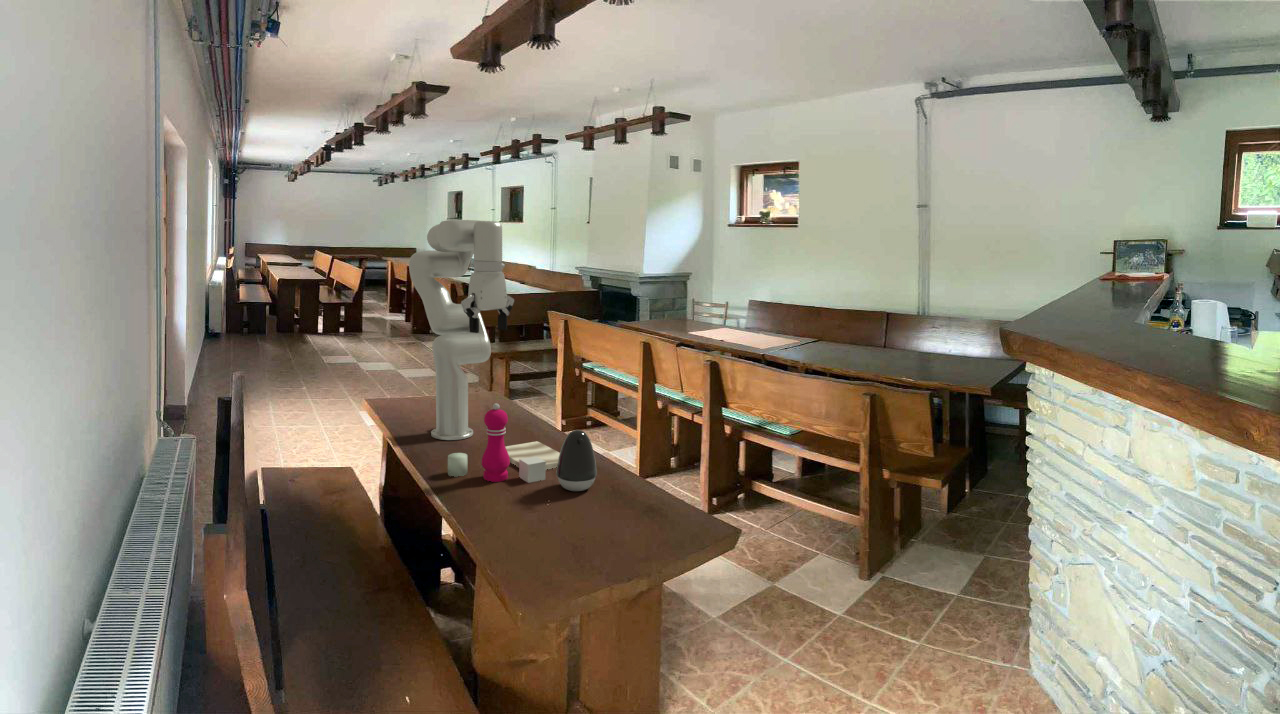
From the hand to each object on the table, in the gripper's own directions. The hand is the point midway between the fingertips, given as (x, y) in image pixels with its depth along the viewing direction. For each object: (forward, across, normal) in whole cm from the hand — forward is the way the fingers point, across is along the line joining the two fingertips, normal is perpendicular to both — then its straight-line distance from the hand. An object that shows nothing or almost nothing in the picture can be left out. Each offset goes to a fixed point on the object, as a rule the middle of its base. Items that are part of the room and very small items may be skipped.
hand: (488, 331), depth 201 cm
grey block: (+37, +2, +19) cm, 42 cm away
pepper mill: (+37, +8, +13) cm, 40 cm away
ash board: (+36, -9, +8) cm, 38 cm away
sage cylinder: (+37, +13, +3) cm, 39 cm away
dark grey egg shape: (+37, -1, +32) cm, 50 cm away
